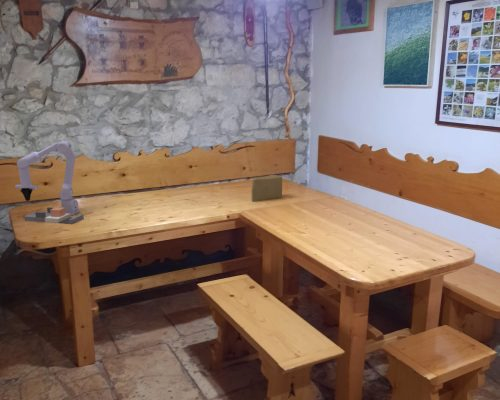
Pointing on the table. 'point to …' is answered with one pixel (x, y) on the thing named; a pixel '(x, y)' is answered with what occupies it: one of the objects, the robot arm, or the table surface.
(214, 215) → the table surface
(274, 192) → the olive upright slab
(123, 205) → the table surface
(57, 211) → the block
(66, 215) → the tunnel deck
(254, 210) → the table surface
